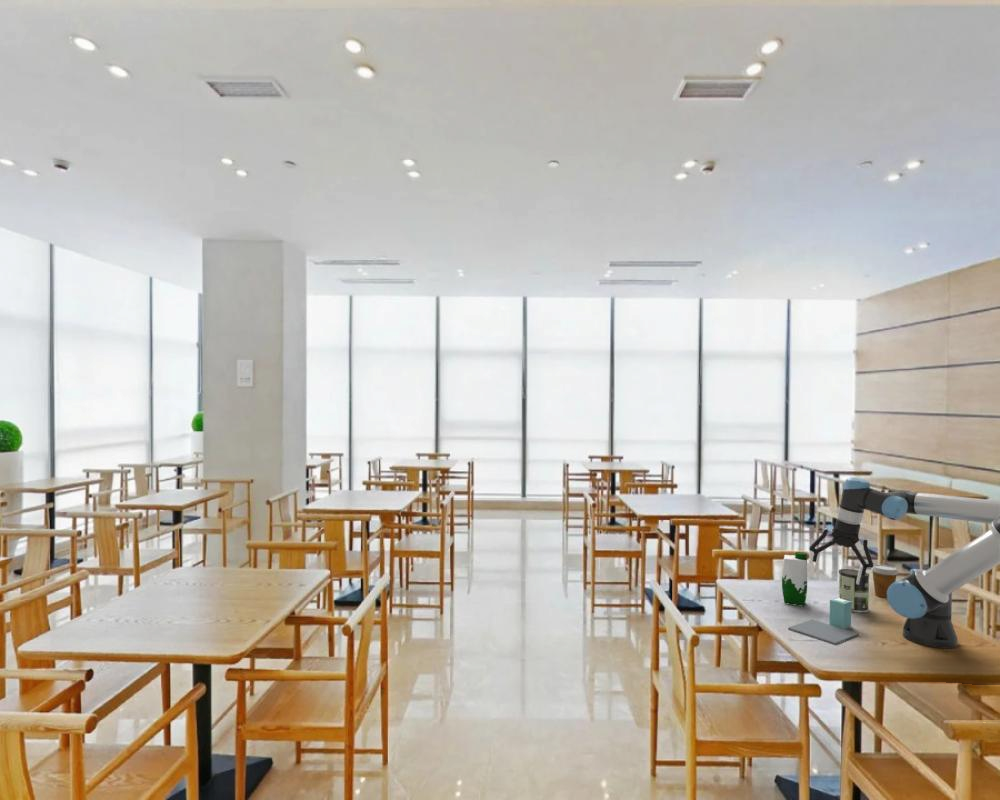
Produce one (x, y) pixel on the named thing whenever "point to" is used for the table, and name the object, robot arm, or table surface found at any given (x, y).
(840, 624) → the block
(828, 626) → the mat
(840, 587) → the coffee can
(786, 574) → the milk carton
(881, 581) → the disposable coffee cup
